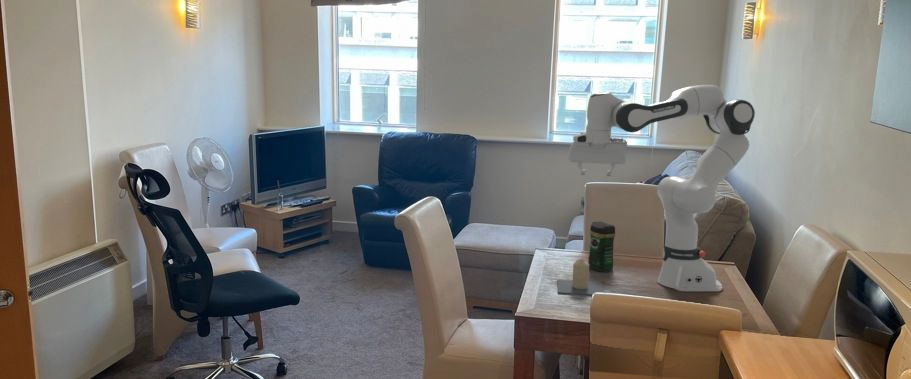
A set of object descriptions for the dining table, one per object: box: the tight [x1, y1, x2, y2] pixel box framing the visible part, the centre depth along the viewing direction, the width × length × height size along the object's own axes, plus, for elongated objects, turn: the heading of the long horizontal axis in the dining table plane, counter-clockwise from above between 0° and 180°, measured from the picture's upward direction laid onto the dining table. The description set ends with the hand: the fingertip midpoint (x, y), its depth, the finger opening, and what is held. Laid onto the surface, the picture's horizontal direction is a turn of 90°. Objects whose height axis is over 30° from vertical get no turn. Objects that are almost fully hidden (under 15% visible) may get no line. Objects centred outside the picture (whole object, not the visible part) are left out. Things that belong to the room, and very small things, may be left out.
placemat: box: [556, 279, 605, 297], centre depth 248 cm, size 16×14×1 cm
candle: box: [572, 258, 590, 289], centre depth 247 cm, size 6×6×10 cm
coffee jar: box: [587, 221, 616, 273], centre depth 270 cm, size 10×8×19 cm
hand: (595, 175), depth 253 cm, fingers open, 8 cm apart
